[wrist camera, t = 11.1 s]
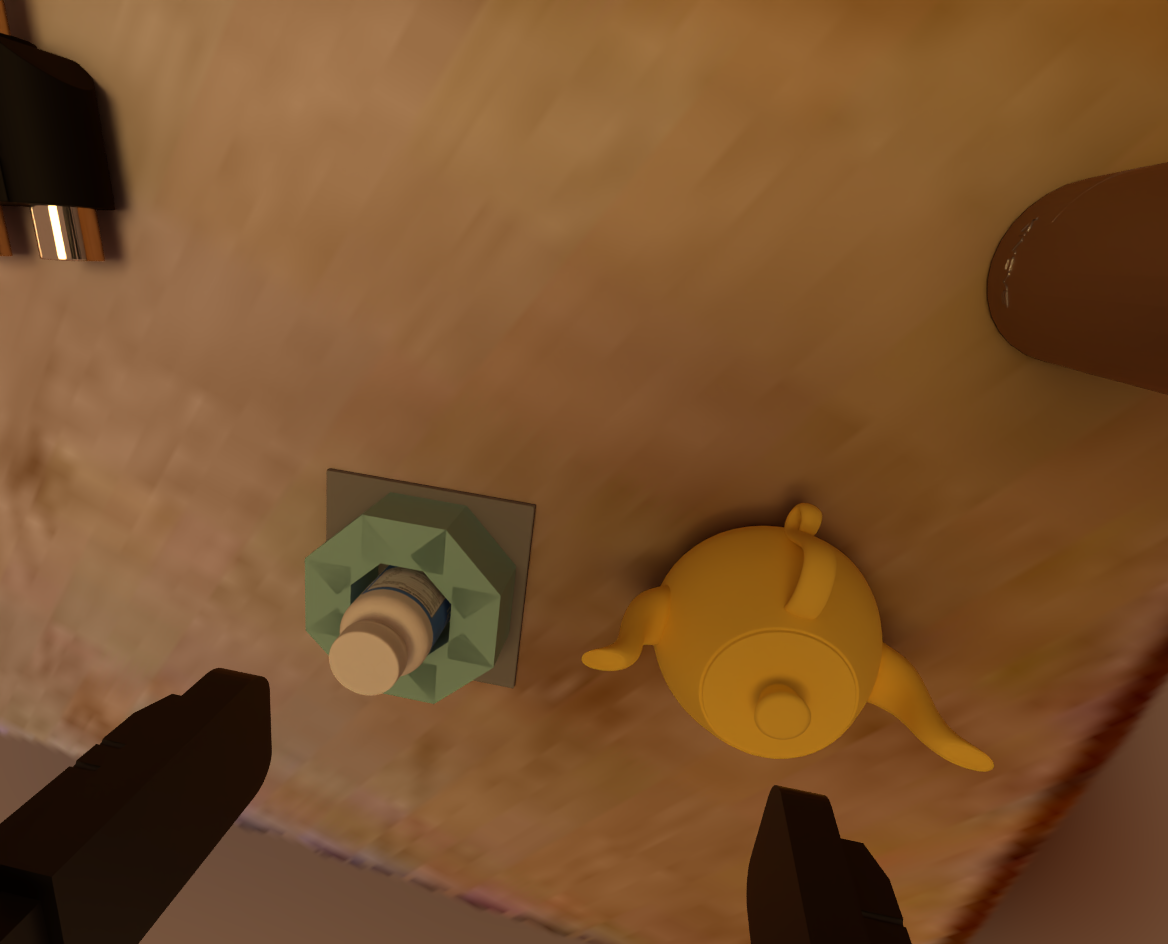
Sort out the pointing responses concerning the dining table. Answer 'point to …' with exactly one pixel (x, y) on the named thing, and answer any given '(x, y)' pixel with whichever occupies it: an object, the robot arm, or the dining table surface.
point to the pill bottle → (388, 630)
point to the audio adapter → (51, 150)
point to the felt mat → (497, 516)
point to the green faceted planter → (450, 560)
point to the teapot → (777, 645)
